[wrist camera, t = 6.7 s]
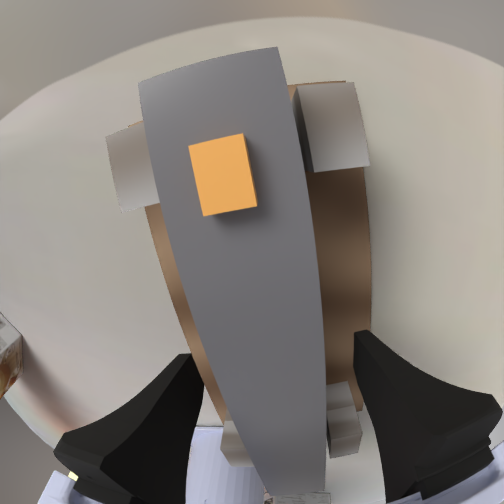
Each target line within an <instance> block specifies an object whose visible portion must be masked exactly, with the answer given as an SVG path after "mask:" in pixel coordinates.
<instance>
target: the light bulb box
mask: <svg viewBox="0 0 504 504" xmlns="http://www.w3.org/2000/svg"><path fill="white" fill-rule="evenodd" d="M263 504H331V498H330V493H304V494H295V495H283V496H270V495H269V493H266V494H264V502H263Z"/></svg>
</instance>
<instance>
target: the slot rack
mask: <svg viewBox="0 0 504 504" xmlns="http://www.w3.org/2000/svg"><path fill="white" fill-rule="evenodd" d="M287 87H288V91H289V95H290V100H291V104H292V109H293V114H294V118H295V123H296V128H297V133H298V138H299V143H300V149H301V154H302V159H303V165H304V171H305V177H306V183H307V189H308V195H309V202H310V209H311V216H312V223H313V230H314V238H315V246H316V254H317V263H318V272H319V282H320V293H321V304H322V317H323V331H324V348H325V369H326V435H327V441H328V448H329V455H330V458H336V457H341V456H345V455H350V454H354V453H358V450H359V446H360V441H361V437H362V430H361V426H360V422H359V419H358V415H357V411H362V407H363V397H362V394H361V392H360V389H359V387H358V384H357V380H356V376H355V372H354V368H353V352H354V332H357V331H362V330H366V329H367V330H369V331H370V323H371V252H370V233H369V219H368V207H367V197H366V188H365V180H364V172H363V167H365V166H370V160H369V153H368V147H367V141H366V136H365V130H364V125H363V120H362V115H361V110H360V106H359V101H358V97H357V93H356V89H355V85H354V82H346V81H330V82H316V83H305V84H295V85H287ZM106 142H107V148H108V154H109V159H110V164H111V170H112V175H113V179H114V184H115V189H116V193H117V197H118V201H119V206H120V210H121V213H123V212H126V211H130V210H134V209H137V208H141V207H145V211H146V215H147V219H148V223H149V226H150V230H151V234H152V237H153V241H154V245H155V248H156V252H157V255H158V258H159V262H160V265H161V268H162V272H163V275H164V278H165V281H166V284H167V287H168V290H169V293H170V296H171V299H172V302H173V305H174V308H175V311H176V314H177V316H178V319H179V322H180V325H181V327H182V330H183V333H184V335H185V338H186V341H187V343H188V346H189V348H190V351H191V353H192V356H193V358H194V361H195V363H196V366H197V368H198V370H199V373H200V375H201V377H202V380H203V382H204V384H205V387H206V389H207V391H208V393H209V396H210V398H211V400H212V402H213V404H214V406H215V409H216V411H217V413H218V415H219V417H220V419H221V421H222V423H223V425H224V428H223V434H222V440H221V446H220V450H221V451H222V453H223V455H224V456H225V458H226V459H227V461H228V462H229V464H230V465H231V467H254V465H253V463H252V461H251V459H250V457H249V455H248V452H247V450H246V448H245V446H244V444H243V442H242V440H241V438H240V436H239V433H238V431H237V429H236V427H235V424H234V422H233V420H232V418H231V415H230V413H229V411H228V409H227V406H226V404H225V401H224V399H223V397H222V394H221V392H220V389H219V387H218V384H217V382H216V379H215V377H214V374H213V372H212V369H211V367H210V364H209V361H208V359H207V356H206V353H205V351H204V348H203V345H202V342H201V340H200V337H199V334H198V331H197V328H196V325H195V322H194V320H193V317H192V314H191V311H190V308H189V304H188V301H187V298H186V295H185V292H184V289H183V286H182V282H181V279H180V276H179V272H178V269H177V266H176V262H175V259H174V255H173V252H172V248H171V244H170V241H169V237H168V233H167V229H166V225H165V222H164V218H163V214H162V210H161V205H160V201H159V197H158V193H157V188H156V184H155V179H154V175H153V170H152V165H151V160H150V155H149V150H148V145H147V139H146V134H145V128H144V122H143V121H140V122H137V123H135V124H132V125H129V126H128V128H126V129H124V130H121V131H119V132H116V133H114V134H112V135H109V136H107V137H106Z"/></svg>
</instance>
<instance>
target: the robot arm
mask: <svg viewBox="0 0 504 504" xmlns="http://www.w3.org/2000/svg"><path fill="white" fill-rule="evenodd" d="M353 368H354V372H355V376H356V380H357V384H358V387H359V389H360V392H361V394H362V397H363V400H364V402H365V405H366V407H367V410H368V412H369V415H370V418H371V420H372V423H373V426H374V430H375V434H376V438H377V442H378V447H379V452H380V458H381V463H382V470H383V476H384V485H385V495H386V504H499V503H501V502H502V501H503V500H504V441H502V442H501V443H499V444H498V445H497V446H496V447H494V448H493V449H492V450H490V448H489V445H490V444H491V440H490V438H489V437H488V436H489V434H490V433H491V432H492V430H493V429H494V428H495V426H496V425H497V424H498V422H499V420H500V419H501V416H502V413H503V411H502V409H501V407H500V406H499V404H498V403H497V401H496V400H495V398H494V397H493V396H492V395H491V394H486V393H480V392H475V391H471V390H467V389H464V388H460V387H457V386H454V385H451V384H449V383H446V382H444V381H441V380H439V379H437V378H435V377H433V376H431V375H429V374H427V373H425V372H423V371H421V370H420V369H418V368H416V367H415V366H413V365H412V364H410V363H409V362H407V361H406V360H404V359H403V358H402V357H400V356H399V355H398V354H396V353H395V352H394V351H392V350H391V349H390V348H389V347H387V346H386V345H385V344H384V343H383V342H382V341H380V340H379V339H378V338H377V337H376V336H375V335H373V334H372V333H371V332H370V331H369V330H367V329H366V330H362V331H357V332H354V352H353ZM203 392H204V382H203V380H202V378H201V375H200V373H199V371H198V368H197V366H196V363H195V361H194V358H193V356H192V353H190V354H179V355H178V356H177V357H176V358H175V359H174V360H173V361H172V362H171V363H170V364H169V365H168V366H167V367H166V368H165V369H164V370H163V371H162V372H161V373H160V374H159V375H158V376H157V377H156V378H155V379H154V380H153V381H152V382H151V383H150V384H149V385H147V386H146V387H145V388H144V389H143V390H142V391H141V392H140V393H139V394H137V395H136V396H135V397H134V398H133V399H131V400H130V401H129V402H127V403H126V404H124V405H123V406H122V407H120V408H119V409H117V410H115V411H114V412H112V413H110V414H109V415H107V416H105V417H103V418H102V419H100V420H98V421H96V422H93V423H91V424H89V425H86V426H84V427H81V428H78V429H75V430H72V431H69V432H66V433H64V434H63V436H62V437H61V439H60V441H59V442H58V444H57V446H56V448H55V449H54V451H53V452H54V455H55V457H56V458H57V459H58V460H59V461H60V462H61V463H62V464H63V465H65V466H66V467H67V468H68V469H69V470H70V471H71V472H73V473H74V474H75V475H76V476H78V478H77V481H75V480H74V479H72V478H70V477H68V476H66V475H64V474H62V473H60V472H58V471H56V470H55V471H54V472H53V474H52V476H51V478H50V480H49V481H48V483H47V485H46V487H45V490H44V491H43V493H42V496H41V497H40V499H39V501H38V504H263V502H264V484H263V482H262V480H261V478H260V476H259V474H258V473H257V471H256V469H255V467H231V465H230V464H229V462H228V461H227V459H226V458H225V456H224V455H223V453H222V451H221V450H220V446H221V440H222V434H223V428H224V427H196V423H197V420H198V416H199V413H200V409H201V405H202V400H203ZM190 446H192V451H191V455H190V459H189V452H190ZM188 460H189V463H188Z"/></svg>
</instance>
